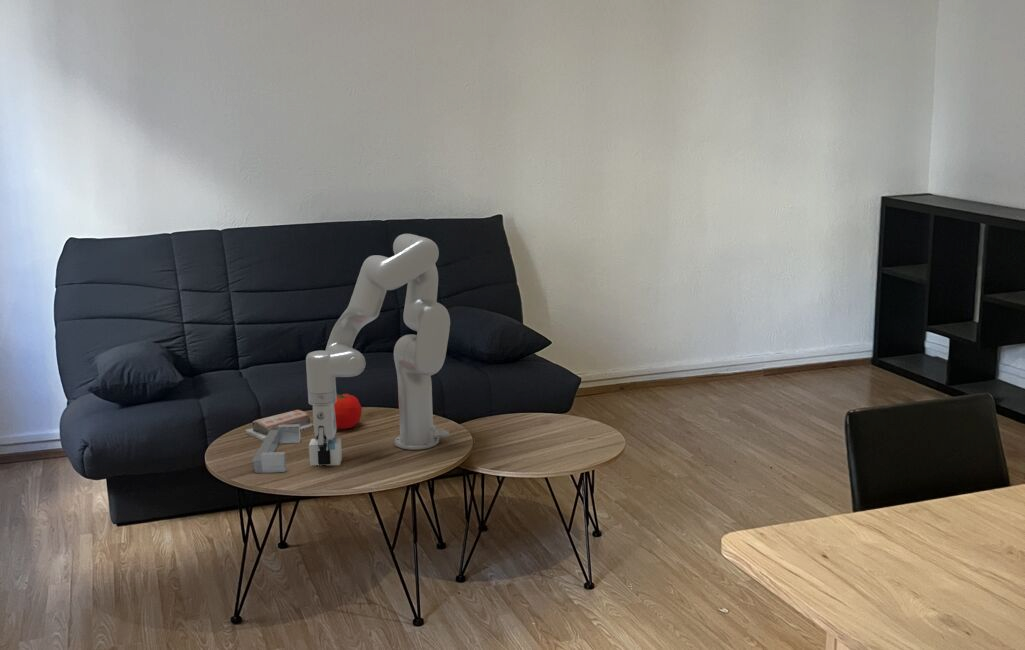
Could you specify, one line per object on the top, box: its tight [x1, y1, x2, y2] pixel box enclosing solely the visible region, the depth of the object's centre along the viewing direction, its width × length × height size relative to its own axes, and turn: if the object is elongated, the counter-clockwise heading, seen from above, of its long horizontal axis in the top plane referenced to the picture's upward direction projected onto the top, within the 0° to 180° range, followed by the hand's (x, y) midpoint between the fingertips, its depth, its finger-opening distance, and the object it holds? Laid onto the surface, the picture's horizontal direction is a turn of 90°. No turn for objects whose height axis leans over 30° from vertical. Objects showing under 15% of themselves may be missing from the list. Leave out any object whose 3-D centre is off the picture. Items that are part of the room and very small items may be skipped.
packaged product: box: [245, 409, 313, 442], centre depth 324 cm, size 18×5×10 cm
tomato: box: [334, 392, 363, 430], centre depth 325 cm, size 11×13×10 cm
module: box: [308, 437, 343, 467], centre depth 295 cm, size 8×5×6 cm, turn 92°
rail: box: [251, 424, 302, 474], centre depth 301 cm, size 9×26×5 cm, turn 2°
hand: (326, 459), depth 296 cm, fingers closed on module, 5 cm apart
